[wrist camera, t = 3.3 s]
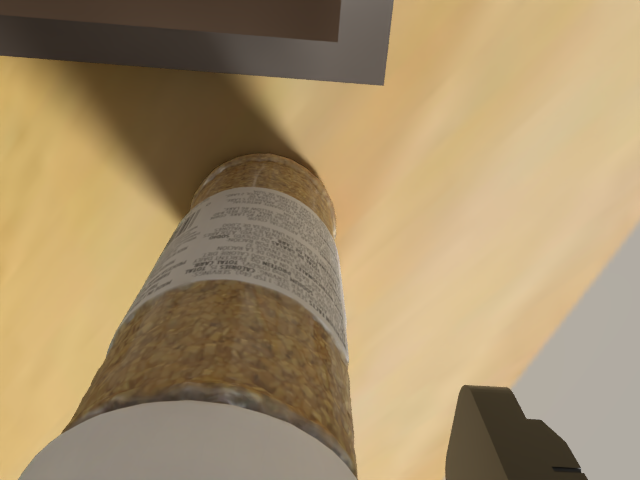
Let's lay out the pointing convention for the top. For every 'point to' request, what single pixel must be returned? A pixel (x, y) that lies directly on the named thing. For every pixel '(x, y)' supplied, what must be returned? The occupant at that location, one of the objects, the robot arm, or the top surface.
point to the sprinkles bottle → (226, 347)
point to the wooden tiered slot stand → (208, 35)
